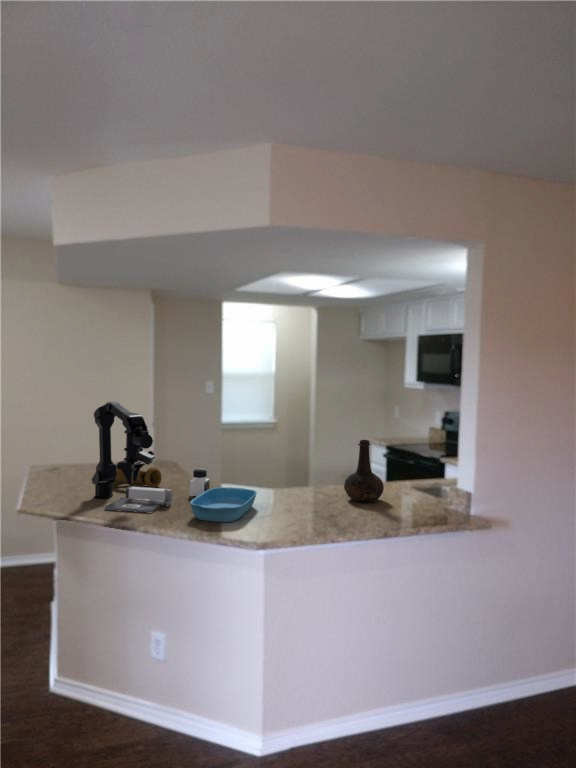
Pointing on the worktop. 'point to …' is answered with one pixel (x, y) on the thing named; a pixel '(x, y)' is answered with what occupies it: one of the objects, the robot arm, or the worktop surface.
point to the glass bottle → (364, 478)
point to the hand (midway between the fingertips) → (132, 482)
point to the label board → (136, 504)
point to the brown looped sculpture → (140, 478)
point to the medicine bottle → (199, 482)
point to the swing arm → (149, 493)
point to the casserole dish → (223, 504)
